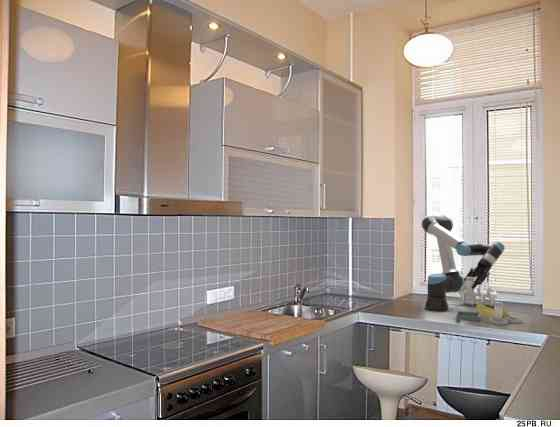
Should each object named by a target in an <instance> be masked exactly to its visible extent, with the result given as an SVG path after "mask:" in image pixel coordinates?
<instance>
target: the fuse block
mask: <svg viewBox="0 0 560 427" xmlns="http://www.w3.org/2000/svg"><path fill="white" fill-rule="evenodd" d="M486 323H488V324H490V325H491V324H492V325H495V326H499V327H500V326H510V325H518V324H519V325H520V324H524V322H523V318H518V317H514V316H509V317H503V321H496V320H494V317H493V318H488V321H486Z"/></svg>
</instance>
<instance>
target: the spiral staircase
mask: <svg viewBox="0 0 560 427" xmlns="http://www.w3.org/2000/svg"><path fill="white" fill-rule="evenodd" d="M490 287H491V284H490V282H489V280H487V282H486V288H485V289H484V291H483V290H482V287H481V285H477V286H476V287H475V289H474V298H470V301H471V302H470V303H471V306H472V307H473V305H475V303H476V299H477V298H476V297H479V300H480V303H481V304H482V305H484V304H485V302H486V298H488V299H489V301H490V304H491V305H490V308H492V307H494V302H495V300H496V299H498V292H497V289H496V288H495V289H494V290H493V291H491V288H490ZM457 293H458V295H459V296H460V298H461V303H462V305H465V303H466V301H467V297H466V290H465V291H464V292H462V291H459V292H457Z"/></svg>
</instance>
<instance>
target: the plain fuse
mask: <svg viewBox="0 0 560 427" xmlns="http://www.w3.org/2000/svg"><path fill="white" fill-rule="evenodd" d="M503 307H504V302H503V301H496V300H494V303H493V309H494V316H493V318H494V320H496V321H503V318H504V317H503V311H504V308H503Z"/></svg>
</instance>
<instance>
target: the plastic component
mask: <svg viewBox="0 0 560 427" xmlns="http://www.w3.org/2000/svg"><path fill="white" fill-rule="evenodd" d="M476 309H477V311H478V313H479V315H486V316H491V317H494V308H492V307H488V306H486V305H484V304H483V305H482V302H479V301H477V302H476ZM504 317H510V313H508V312H507V311H505V310H503V318H504Z"/></svg>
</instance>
